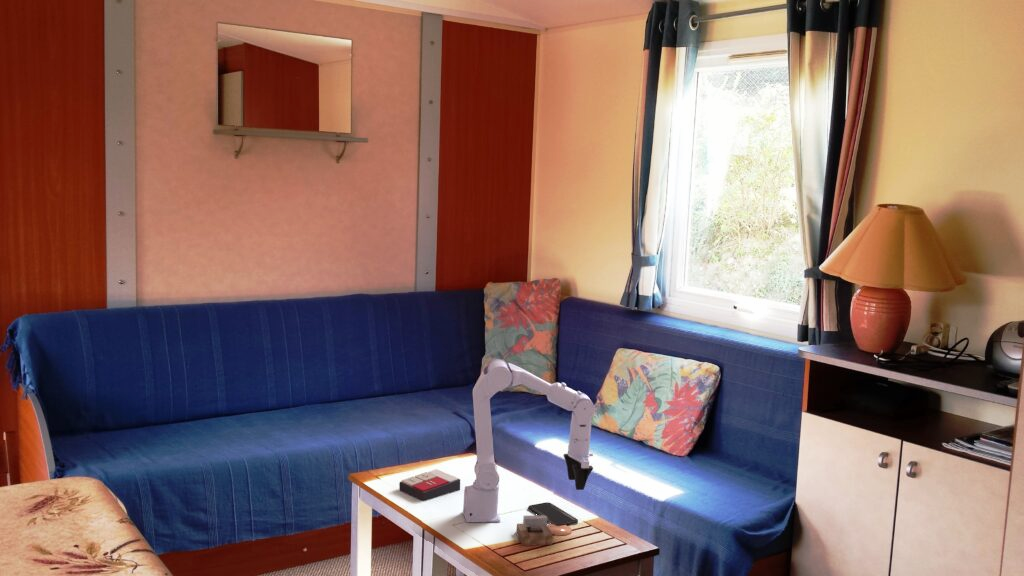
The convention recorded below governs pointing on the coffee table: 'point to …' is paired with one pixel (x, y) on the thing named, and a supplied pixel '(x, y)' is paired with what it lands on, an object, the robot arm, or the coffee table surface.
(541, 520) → the t key
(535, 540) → the socket block
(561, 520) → the phone
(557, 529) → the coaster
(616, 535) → the coffee table surface
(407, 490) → the black red flat box
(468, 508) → the robot arm
